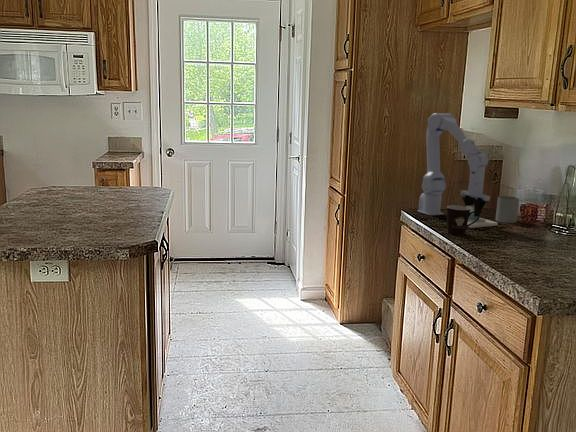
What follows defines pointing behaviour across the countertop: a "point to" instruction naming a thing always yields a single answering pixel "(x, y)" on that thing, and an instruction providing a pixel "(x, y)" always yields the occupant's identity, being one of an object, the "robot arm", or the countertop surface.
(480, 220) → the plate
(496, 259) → the countertop surface
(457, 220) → the coffee mug
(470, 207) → the block
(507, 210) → the cup
